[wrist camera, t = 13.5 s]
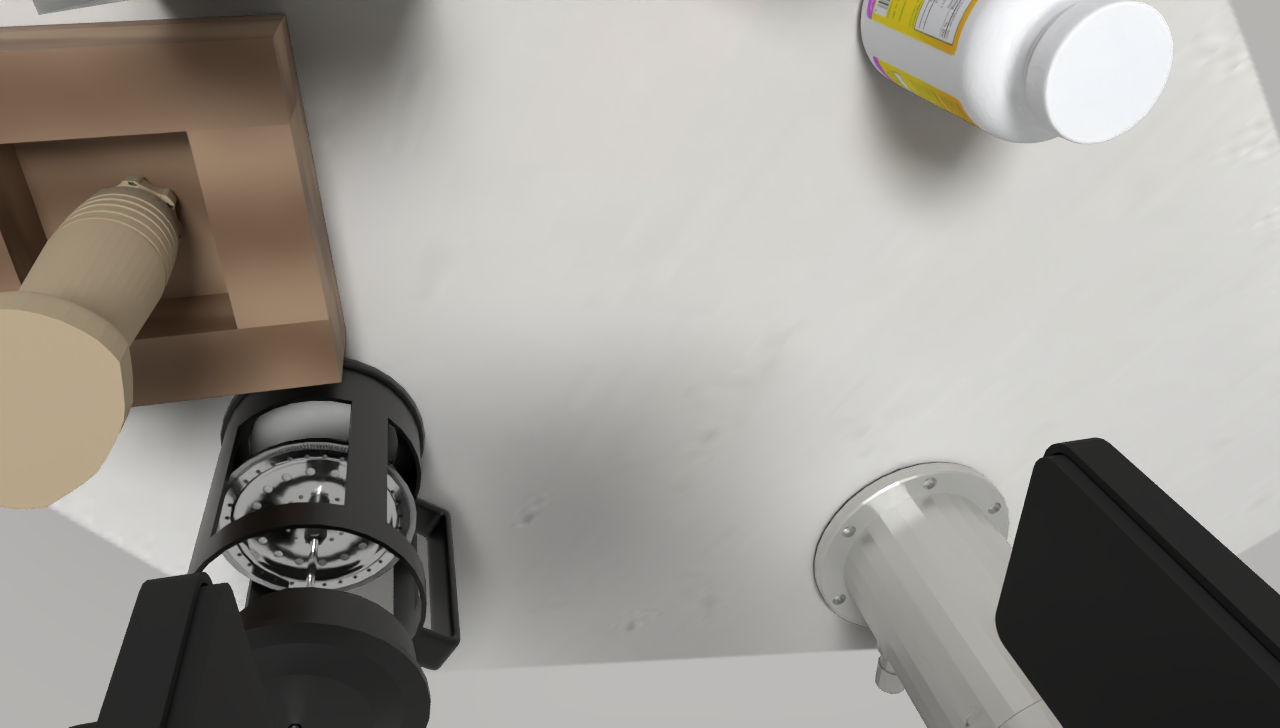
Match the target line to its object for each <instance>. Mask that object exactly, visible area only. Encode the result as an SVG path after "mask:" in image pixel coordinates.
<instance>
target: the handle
mask: <svg viewBox="0 0 1280 728" xmlns="http://www.w3.org/2000/svg"><path fill="white" fill-rule="evenodd" d="M176 201H177V197H176V196H175V194H174V193H173V192H172V191H171V190H170V189H163V188H159V187H156V186H154V185H152V184H150V183H148V182H147V181H146V180H145V179H144V177H142V176H139V175H130V176H128V177H126V178H125V179H124V180H123V181H122V182H121V183H120V184H119V185H117V186H115V187H111V188H108V189H105V188H104V189H101V190H99V191H98V192H97V193H95V194H94V195H93V196H92V197H90V198H89V199H88V200H86V201H85V202H84V203H82V204H81V205H80V206H79V207H78V208H77V209H75V210H74V211H73V213H71V214H70V215H69V216H68V217H67V218H66V220H65V221H64V222H63V223H62V224H61V225H60V226H59V228H58V229H57V230H56V231H55V232H54V234H53V235H52V236H51V237H50V239H49V240H48V241H47V243H46V244H45V246H44V248H43V249H42V251H41V253H40V255H39V256H38V258H37V260H36V261H35V263H34V265H33V266H32V268H31V270H30V272H29V273H28V275H27V277H26V278H25V280H24V282H23V284H22V285H21V287H20V289H19V290H18V291H9V292H0V507H3V508H11V509H35V508H44V507H48V506H49V505H51V504H53V503H54V502H56V501H57V500H59V499H61V498H62V497H64V496H66V495H67V494H69V493H70V492H72V491H73V490H75V489H76V488H78V487H79V486H81V485H82V484H84V483H85V482H86V481H88V480H89V479H90V478H91V477H92V476H93V475H95V474H96V473H97V472H98V470H99V469H100V467H101V466H102V464H103V463H104V462H105V460H106V458H107V456H108V454H109V452H110V450H111V448H112V447H113V445H114V443H115V441H116V439H117V437H118V435H119V433H120V431H121V429H122V427H123V425H124V423H125V420H126V418H127V416H128V414H129V411H130V409H131V406H132V403H133V374H132V364H131V356H130V350H129V347H130V345H131V344H132V342H133V341H134V339H135V337H136V336H137V334H138V333H139V331H140V330H141V328H142V326H143V325H144V323H145V322H146V320H147V319H148V317H149V315H150V314H151V312H152V311H153V309H154V308H155V306H156V305H157V303H158V301H159V300H160V298H161V296H162V294H163V292H164V289H165V287H166V285H167V282H168V280H169V277H170V275H171V272H172V269H173V266H174V263H175V260H176V256H177V251H178V246H179V243H180V240H181V237H182V230H183V229H182V224H181V223H180V221H179V220H178V218H177V215H176V210H175V204H176Z"/></svg>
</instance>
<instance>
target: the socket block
mask: <svg viewBox="0 0 1280 728" xmlns="http://www.w3.org/2000/svg"><path fill="white" fill-rule="evenodd" d="M130 175H139V176H142V177H144V179H145V180H146V181H147V182H148V183H150V184H152V185H154V186H156V187H159V188H163V189H170V190H171V191H172V192H173V193H174V194H175V196H176V197H177V201H176V204H175V210H176V215H177V218H178V220H179V221H180V223H181V224H182V229H183V230H182V237H181V240H180V243H179V246H178V251H177V256H176V260H175V263H174V266H173V269H172V272H171V275H170V277H169V280H168V282H167V285H166V287H165V289H164V292H163V294H162V296H161V298H160V300H159V301H158V303H157V305H156V306H155V308H154V309H153V311H152V312H151V314H150V315H149V317H148V319H147V320H146V322H145V323H144V325H143V326H142V328H141V330H140V331H139V333H138V334H137V336H136V337H135V339H134V341H133V342H132V344H131V345H130V347H129V350H130V356H131V364H132V374H133V403H132V406H131V407H135V406H144V405H152V404H161V403H169V402H178V401H186V400H195V399H203V398H212V397H220V396H229V395H237V394H246V393H254V392H263V391H271V390H280V389H288V388H296V387H305V386H313V385H322V384H330V383H339V382H342V371H343V360H344V349H345V338H346V329H345V324H344V319H343V314H342V308H341V303H340V298H339V293H338V287H337V282H336V277H335V272H334V267H333V261H332V256H331V251H330V246H329V240H328V235H327V230H326V225H325V220H324V214H323V209H322V204H321V199H320V193H319V188H318V183H317V178H316V173H315V167H314V162H313V157H312V152H311V147H310V141H309V136H308V131H307V126H306V120H305V115H304V110H303V105H302V100H301V94H300V89H299V84H298V79H297V73H296V68H295V63H294V58H293V53H292V47H291V42H290V37H289V32H288V26H287V21H286V16H285V14H269V15H248V16H227V17H206V18H184V19H163V20H142V21H120V22H99V23H78V24H57V25H35V26H14V27H0V292H9V291H18V290H19V289H20V287H21V285H22V284H23V282H24V280H25V278H26V277H27V275H28V273H29V272H30V270H31V268H32V266H33V265H34V263H35V261H36V260H37V258H38V256H39V255H40V253H41V251H42V249H43V248H44V246H45V244H46V243H47V241H48V240H49V239H50V237H51V236H52V235H53V234H54V232H55V231H56V230H57V229H58V228H59V226H60V225H61V224H62V223H63V222H64V221H65V220H66V218H67V217H68V216H69V215H70V214H71V213H73V211H74V210H75V209H77V208H78V207H79V206H80V205H81V204H82V203H84V202H85V201H86V200H88V199H89V198H90V197H92V196H93V195H94V194H95V193H97V192H98V191H99V190H101V189H104V188H105V189H108V188H111V187H115V186H117V185H119V184H120V183H121V182H122V181H123V180H124V179H125V178H126V177H128V176H130Z"/></svg>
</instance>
